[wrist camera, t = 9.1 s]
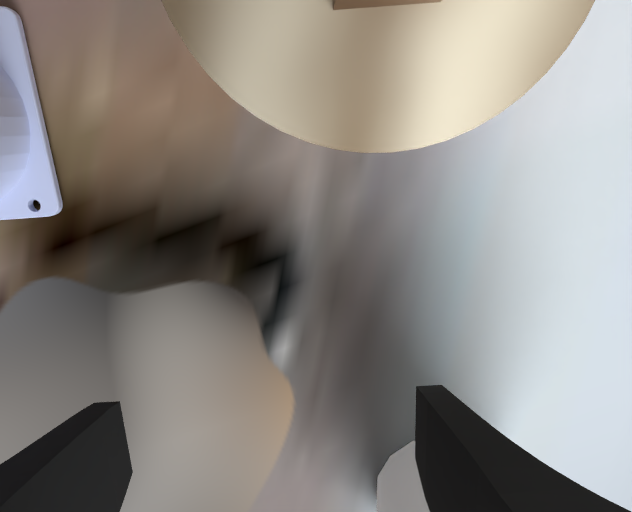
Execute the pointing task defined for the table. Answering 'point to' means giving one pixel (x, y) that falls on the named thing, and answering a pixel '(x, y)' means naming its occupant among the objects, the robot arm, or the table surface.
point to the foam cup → (401, 483)
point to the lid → (376, 62)
